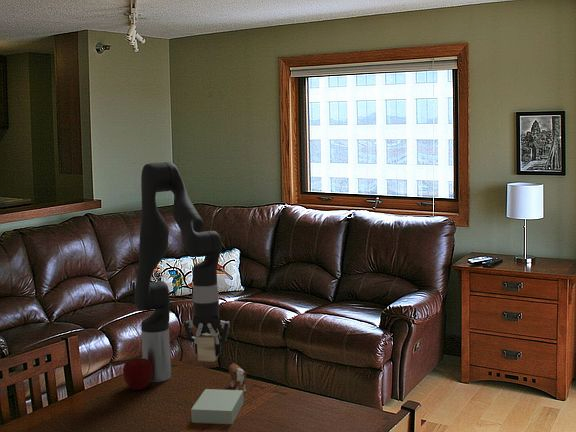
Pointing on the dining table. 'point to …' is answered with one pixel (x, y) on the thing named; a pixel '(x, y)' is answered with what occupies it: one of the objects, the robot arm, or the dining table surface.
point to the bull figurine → (237, 376)
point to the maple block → (206, 348)
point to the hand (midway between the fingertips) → (208, 355)
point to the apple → (138, 373)
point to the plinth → (217, 406)
